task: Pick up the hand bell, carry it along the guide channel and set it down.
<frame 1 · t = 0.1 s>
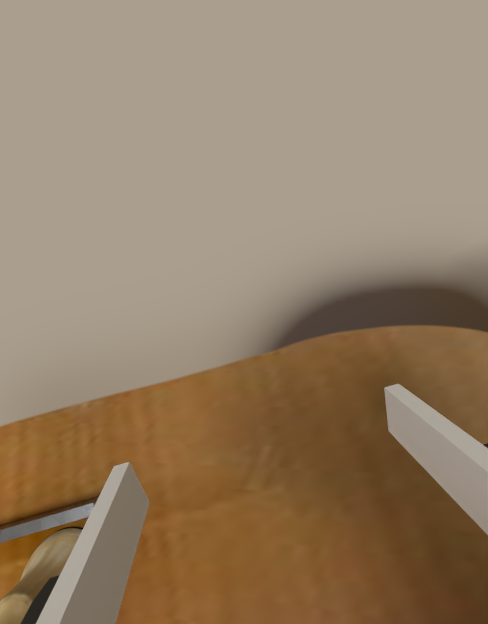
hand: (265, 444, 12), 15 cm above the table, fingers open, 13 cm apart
hand bell: (65, 579, 22), on the table
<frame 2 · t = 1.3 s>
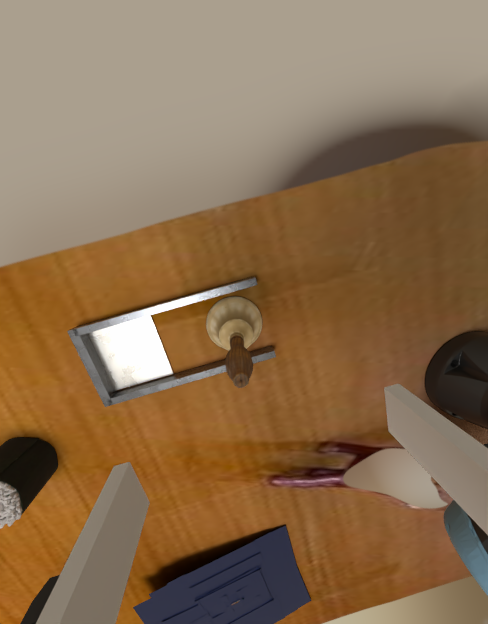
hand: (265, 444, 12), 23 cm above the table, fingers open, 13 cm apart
hand bell: (234, 323, 34), on the table
sushi: (30, 457, 37), on the table
guide channel: (182, 338, 34), on the table
dark blue flat piece: (229, 583, 48), on the table
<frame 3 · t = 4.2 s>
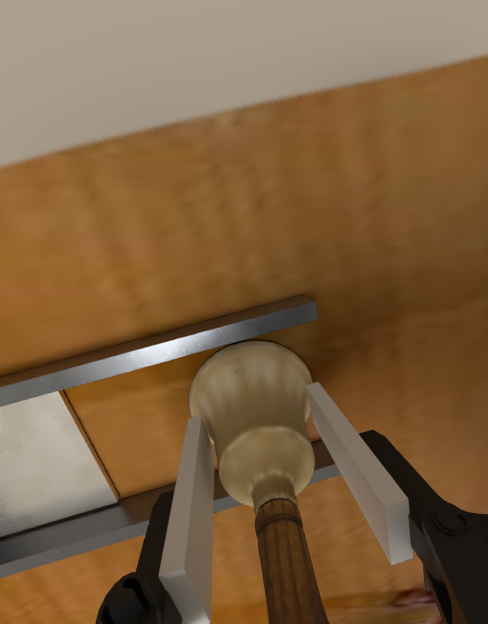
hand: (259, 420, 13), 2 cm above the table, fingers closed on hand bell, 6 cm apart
hand bell: (252, 396, 16), on the table, touching gripper
guide channel: (136, 431, 15), on the table
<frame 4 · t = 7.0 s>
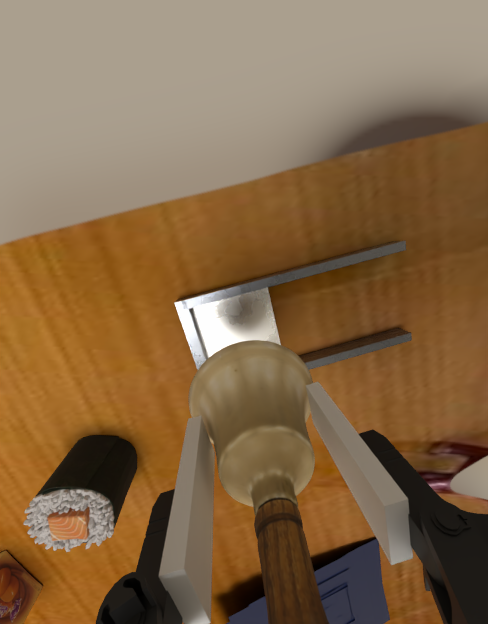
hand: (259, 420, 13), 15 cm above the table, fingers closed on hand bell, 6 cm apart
hand bell: (252, 395, 16), point 13 cm above the table, touching gripper
candy box: (15, 570, 33), on the table
sushi: (105, 459, 30), on the table
guide channel: (299, 317, 28), on the table
dark blue flat piece: (305, 601, 42), on the table
when the fingers open (4 cm above the table, at t = 9.8 s): hand bell drops 1 cm, resting on guide channel.
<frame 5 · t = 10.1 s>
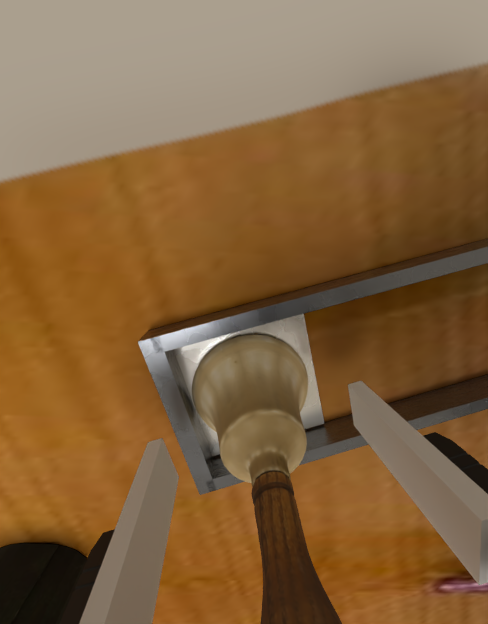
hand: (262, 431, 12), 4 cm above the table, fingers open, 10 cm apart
hand bell: (250, 386, 17), resting on guide channel
sushi: (41, 573, 19), on the table
guide channel: (351, 357, 17), on the table
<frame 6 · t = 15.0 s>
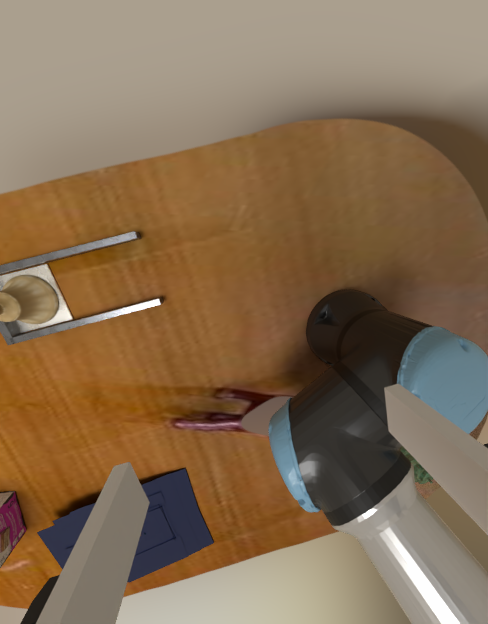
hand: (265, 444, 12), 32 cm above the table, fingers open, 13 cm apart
hand bell: (32, 299, 38), resting on guide channel
decorative artifact: (405, 454, 56), on the table
guide channel: (78, 287, 39), on the table
candy bar box: (11, 510, 48), on the table
dark blue flat piece: (137, 522, 53), on the table
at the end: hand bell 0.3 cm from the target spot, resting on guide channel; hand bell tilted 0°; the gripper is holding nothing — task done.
